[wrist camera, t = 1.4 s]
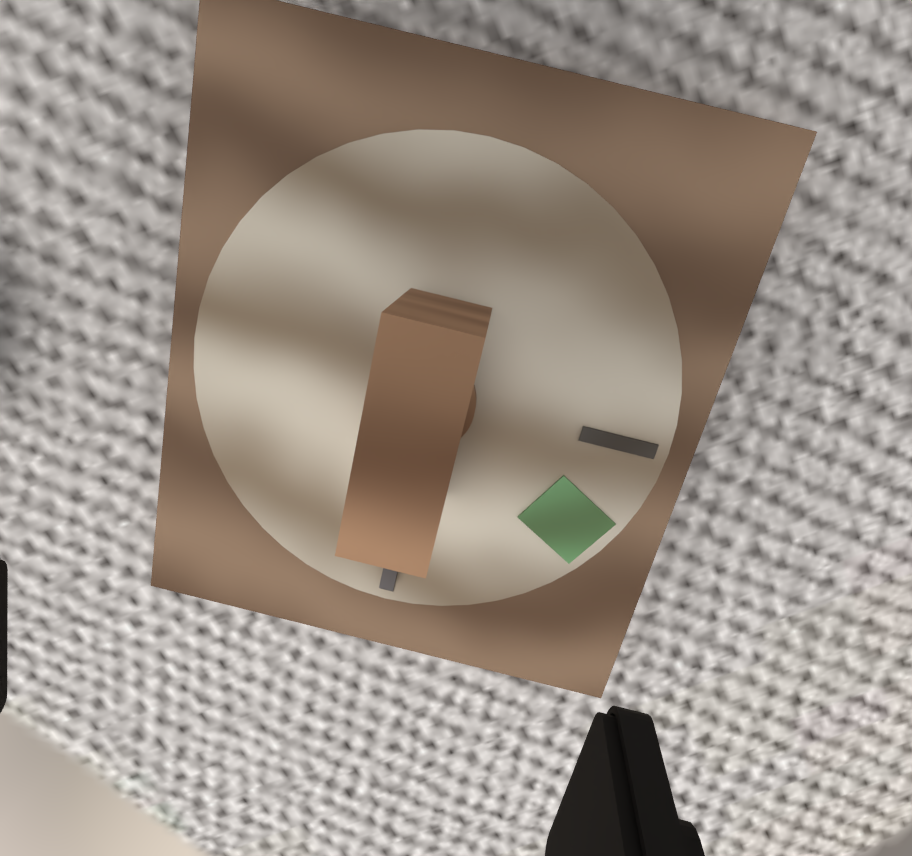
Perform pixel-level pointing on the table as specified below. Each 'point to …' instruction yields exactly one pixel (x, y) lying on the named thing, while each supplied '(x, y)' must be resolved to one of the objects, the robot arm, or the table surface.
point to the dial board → (464, 278)
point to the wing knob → (411, 430)
